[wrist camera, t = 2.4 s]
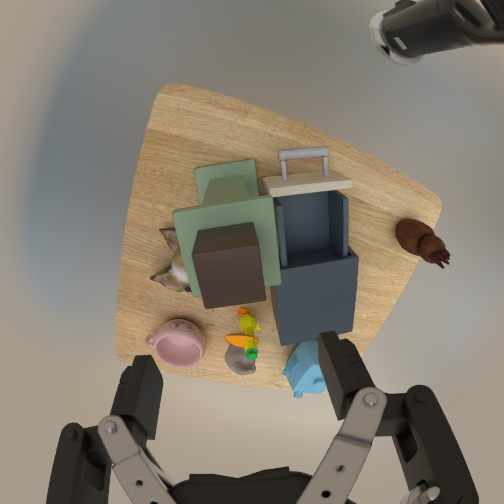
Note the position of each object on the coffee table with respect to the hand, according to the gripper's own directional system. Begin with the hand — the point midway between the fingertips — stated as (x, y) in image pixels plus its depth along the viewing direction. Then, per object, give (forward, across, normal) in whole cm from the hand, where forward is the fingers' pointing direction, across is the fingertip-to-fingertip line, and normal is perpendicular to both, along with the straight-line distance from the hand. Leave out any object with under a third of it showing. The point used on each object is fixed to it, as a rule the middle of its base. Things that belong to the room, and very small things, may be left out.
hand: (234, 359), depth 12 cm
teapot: (+34, -11, +37) cm, 51 cm away
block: (+12, 0, 0) cm, 12 cm away
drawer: (+33, -11, +3) cm, 35 cm away
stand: (+34, 0, 0) cm, 34 cm away
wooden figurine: (+34, -32, +11) cm, 48 cm away
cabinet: (+34, -11, +17) cm, 40 cm away
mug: (+34, +15, +26) cm, 45 cm away
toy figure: (+34, +1, +23) cm, 41 cm away
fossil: (+34, +3, +30) cm, 46 cm away
